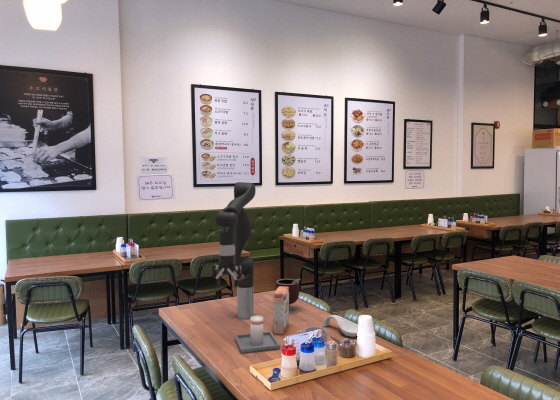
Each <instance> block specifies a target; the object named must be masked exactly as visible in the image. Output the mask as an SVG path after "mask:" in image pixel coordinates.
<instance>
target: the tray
mask: <svg viewBox="0 0 560 400" xmlns="http://www.w3.org/2000/svg"><path fill="white" fill-rule="evenodd" d="M234 340H235V342H236V345H237V347H238V349H239V351H240V354H242V355H243V354H251V353H261V352H268V351H279V350H281V344H280V342H279V341H278V339H277V338H276V337H275V334H273V331H271V330H269V331H263V344H261V345H252V344H251V343H250V332H249V333H241V334H234Z"/></svg>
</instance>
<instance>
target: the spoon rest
mask: <svg viewBox="0 0 560 400" xmlns="http://www.w3.org/2000/svg"><path fill="white" fill-rule="evenodd" d="M331 319H334V320H335V322H336V323H337V325H338V328H339V329H340V331H341V333H342V334H343V335H344V336H345V337H348V336H349V337H348V338H357V337H358V336H357V330H358V325H359V324H358V323H355V322H353V321H350V320H349V319H347V318H345V317H342V316H340V315H338V314H337V315H336V314H332V315H329V316H326V317H325V318H324V320H323V322H322V328H324V327H328V326H330V322H331ZM356 336H357V337H356Z"/></svg>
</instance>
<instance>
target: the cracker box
mask: <svg viewBox="0 0 560 400" xmlns="http://www.w3.org/2000/svg"><path fill="white" fill-rule="evenodd" d="M272 299H273V300H272V301H273V302H272V303H273V304H272V305H273V307H272V308H273V309H272V311H273V312H272V334H273V335H284V334H285V333H286V331H287V329H288V327H289V323H290V322H289V316H290V314H289V287H282V286H279V287H278V288H277V289H276V291H274V292H273V297H272Z"/></svg>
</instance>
